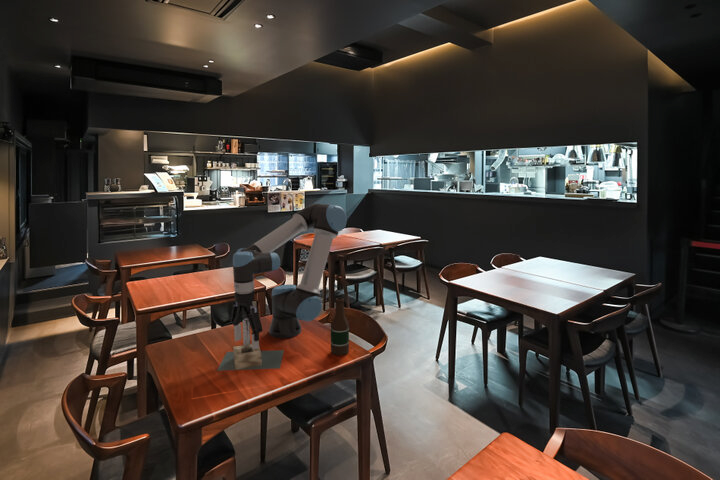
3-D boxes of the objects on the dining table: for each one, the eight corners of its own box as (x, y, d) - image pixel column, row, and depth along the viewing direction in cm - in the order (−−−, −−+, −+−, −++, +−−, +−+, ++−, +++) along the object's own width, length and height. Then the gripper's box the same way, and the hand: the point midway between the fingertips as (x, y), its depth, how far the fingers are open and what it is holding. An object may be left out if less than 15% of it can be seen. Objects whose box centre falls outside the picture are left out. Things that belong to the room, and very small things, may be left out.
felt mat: (284, 350, 170) (284, 350, 170) (279, 369, 154) (279, 368, 154) (227, 352, 168) (226, 351, 168) (216, 371, 152) (216, 370, 152)
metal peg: (250, 359, 161) (248, 317, 158) (251, 362, 158) (249, 320, 155) (243, 360, 160) (242, 318, 157) (244, 363, 157) (242, 321, 154)
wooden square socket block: (258, 354, 166) (258, 343, 165) (261, 365, 156) (261, 353, 156) (233, 358, 162) (233, 346, 161) (235, 369, 153) (234, 357, 152)
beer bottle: (340, 346, 175) (340, 294, 170) (352, 352, 169) (352, 298, 165) (327, 352, 169) (326, 298, 165) (339, 358, 164) (338, 302, 160)
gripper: (219, 287, 158) (222, 339, 162) (254, 299, 144) (256, 355, 148) (235, 283, 164) (237, 333, 168) (271, 294, 150) (272, 349, 154)
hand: (246, 344), depth 158 cm, fingers open, 11 cm apart
